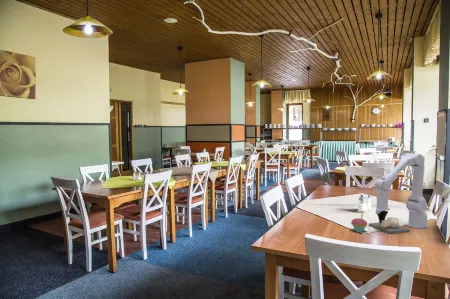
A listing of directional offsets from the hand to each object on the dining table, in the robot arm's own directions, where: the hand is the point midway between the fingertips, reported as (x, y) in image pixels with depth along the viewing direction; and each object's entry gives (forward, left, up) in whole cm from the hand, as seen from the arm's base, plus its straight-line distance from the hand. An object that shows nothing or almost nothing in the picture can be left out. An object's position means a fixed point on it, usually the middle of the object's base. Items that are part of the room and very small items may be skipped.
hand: (381, 223), depth 182 cm
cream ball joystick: (-4, +2, -1) cm, 4 cm away
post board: (-5, 0, -4) cm, 7 cm away
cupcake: (+14, -2, -4) cm, 14 cm away
